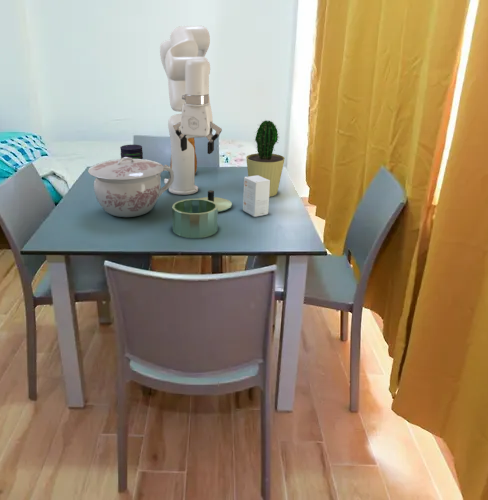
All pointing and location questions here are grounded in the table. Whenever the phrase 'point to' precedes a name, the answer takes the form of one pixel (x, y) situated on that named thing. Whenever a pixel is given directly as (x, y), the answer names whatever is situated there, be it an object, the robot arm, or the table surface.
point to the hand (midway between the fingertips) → (197, 151)
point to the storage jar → (132, 151)
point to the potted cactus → (266, 156)
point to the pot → (195, 218)
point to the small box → (256, 195)
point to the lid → (218, 201)
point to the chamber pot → (129, 185)
